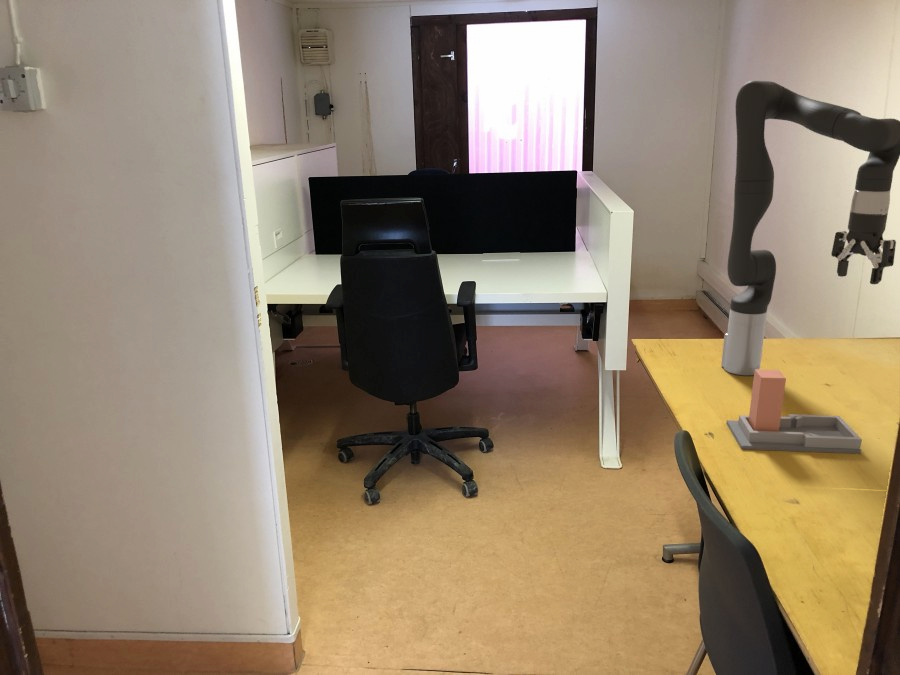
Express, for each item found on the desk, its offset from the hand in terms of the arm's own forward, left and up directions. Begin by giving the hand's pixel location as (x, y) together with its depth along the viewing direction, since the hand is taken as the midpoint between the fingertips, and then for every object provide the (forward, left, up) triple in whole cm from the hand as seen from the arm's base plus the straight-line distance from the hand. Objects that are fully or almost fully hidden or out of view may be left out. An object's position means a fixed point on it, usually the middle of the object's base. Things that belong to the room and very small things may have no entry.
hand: (857, 279), depth 170 cm
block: (+8, -33, -29) cm, 45 cm away
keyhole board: (+11, -28, -30) cm, 43 cm away
